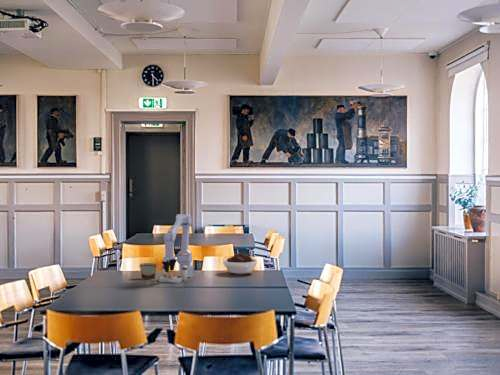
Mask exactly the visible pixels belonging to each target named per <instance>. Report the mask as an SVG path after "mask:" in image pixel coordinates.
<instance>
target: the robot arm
mask: <svg viewBox="0 0 500 375" xmlns="http://www.w3.org/2000/svg"><path fill="white" fill-rule="evenodd" d="M192 219H193V218H192V215H191V214H185V213H184V214H182V213H181V214H180V213H177V214H176V217H175V222H174V224H173V225H171V226H170V227H169V230H168V231H167V232H165V233H164V235H163V241H164V256H163V260H162V261H161V264H162V265H164V269H165V272H167V273H168V272H169V271H174V269H175V267H176V263H178V265H179V267H178V268H179V270H178V271H179V275H176V276H181V277H182V266H187V278H190V277H194V276H195V275H194V265H193V263H192V262H193V255H192V254H193V253H192V252H191V251H190V250H189V245H190V244H189V243H190V242H189V240H190V227H192V221H193V220H192ZM180 227H181V228H182V229H181V244H180V245H181V246H180V247H181V248H180V250H179V251H178V252H177V255H175V253H174V252H175V247H174V246H175V245H174V244H175V240H176V237H177V234H178V233H179V228H180ZM169 273H170V272H169Z"/></svg>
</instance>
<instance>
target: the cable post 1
mask: <svg viewBox="0 0 500 375" xmlns="http://www.w3.org/2000/svg"><path fill="white" fill-rule="evenodd" d="M161 269H162V270H161V271H162V272H161V273H162V274H161V277H162V276H164V275H167V276H168V272H165V269H164V265H163V264H162V266H161Z"/></svg>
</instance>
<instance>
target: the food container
mask: <svg viewBox="0 0 500 375" xmlns="http://www.w3.org/2000/svg"><path fill="white" fill-rule="evenodd" d="M139 268H140V276H141V277H140V278H141V279H143V280H144V279H146V280H150V279H153V280H155V279H156V275H157V273H156V272H157V268H158V265H157V263H155V262H148V263H147V262H144V263H140V264H139Z"/></svg>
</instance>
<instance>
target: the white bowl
mask: <svg viewBox="0 0 500 375" xmlns="http://www.w3.org/2000/svg"><path fill="white" fill-rule="evenodd" d="M222 264H223V265H224V266H225V267H226V271H227V272H228V273H231V274H235V275H246V274H250V273H252V272H253V270H254V268H255V267H256V266H257V264H258V261H257V259H254V258H252V257H251V256H250V255H249V254H248V253H242V252H241V253H240V252H239V253H235V254H234V255H233V256H231V257H229V258H225V259H223V261H222Z"/></svg>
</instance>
